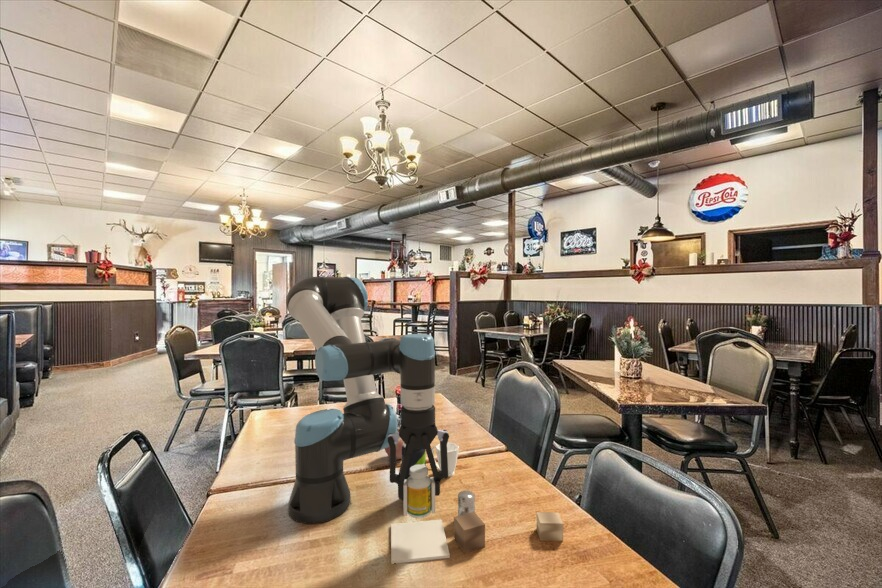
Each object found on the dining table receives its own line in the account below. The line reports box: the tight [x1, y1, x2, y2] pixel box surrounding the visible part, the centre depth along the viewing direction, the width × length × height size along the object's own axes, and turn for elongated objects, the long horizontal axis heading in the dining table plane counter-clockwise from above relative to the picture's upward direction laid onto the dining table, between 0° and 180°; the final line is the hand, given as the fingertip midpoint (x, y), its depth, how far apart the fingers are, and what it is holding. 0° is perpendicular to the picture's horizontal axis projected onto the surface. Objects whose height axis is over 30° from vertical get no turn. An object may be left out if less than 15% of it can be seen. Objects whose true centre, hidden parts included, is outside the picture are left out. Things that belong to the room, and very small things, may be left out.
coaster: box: [390, 519, 451, 565], centre depth 82 cm, size 12×12×1 cm
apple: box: [384, 438, 404, 461], centre depth 122 cm, size 8×8×8 cm
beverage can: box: [401, 443, 427, 501], centre depth 98 cm, size 6×6×15 cm
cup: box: [431, 441, 460, 478], centre depth 113 cm, size 7×10×8 cm
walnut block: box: [453, 511, 486, 554], centre depth 82 cm, size 5×5×5 cm
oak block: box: [536, 511, 564, 542], centre depth 84 cm, size 5×4×4 cm
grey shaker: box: [457, 490, 476, 516], centre depth 90 cm, size 4×4×6 cm
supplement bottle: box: [407, 465, 432, 519], centre depth 82 cm, size 5×5×10 cm
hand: (419, 510), depth 82 cm, fingers closed on supplement bottle, 5 cm apart
